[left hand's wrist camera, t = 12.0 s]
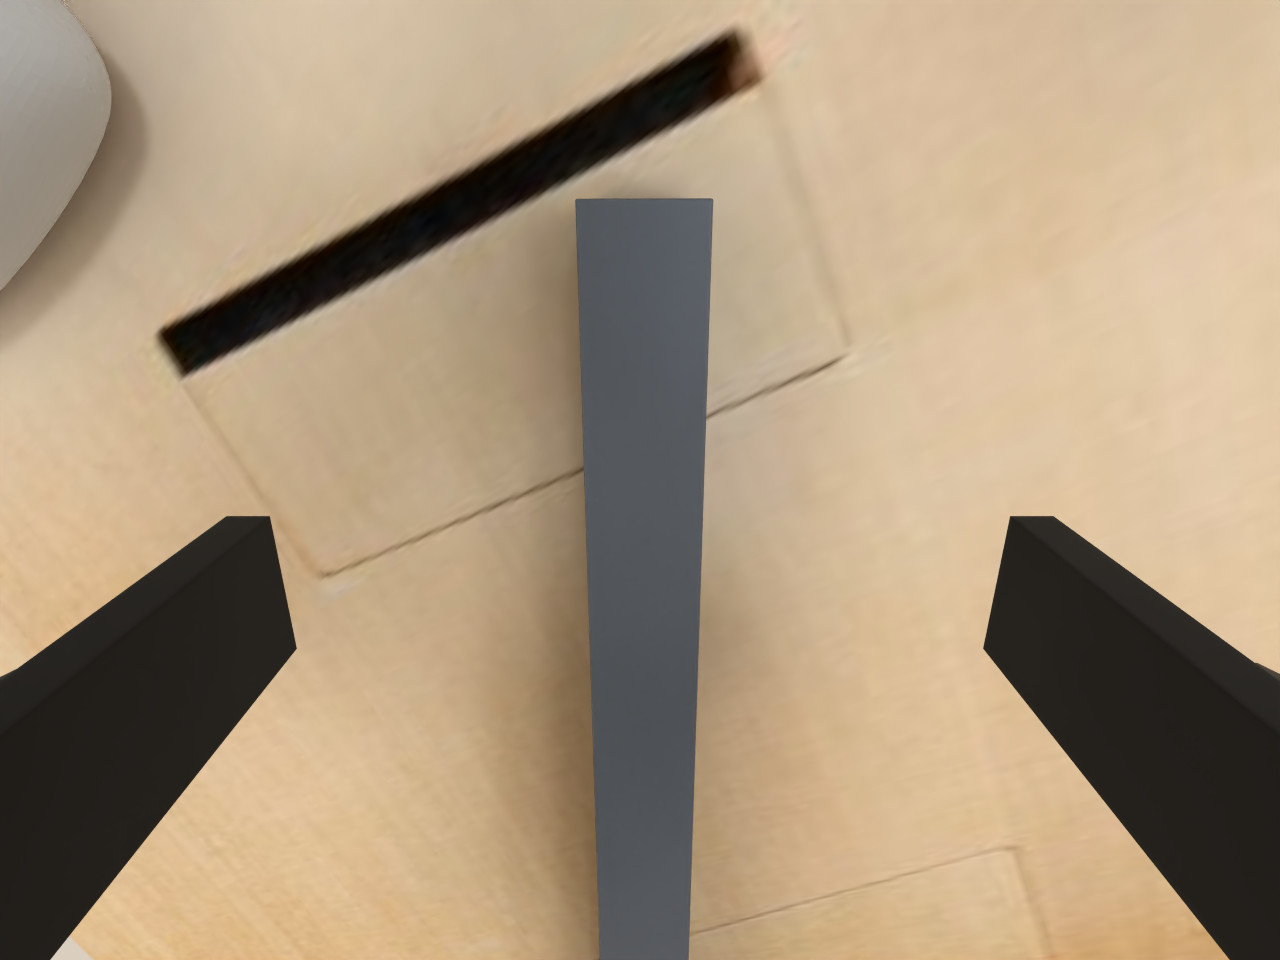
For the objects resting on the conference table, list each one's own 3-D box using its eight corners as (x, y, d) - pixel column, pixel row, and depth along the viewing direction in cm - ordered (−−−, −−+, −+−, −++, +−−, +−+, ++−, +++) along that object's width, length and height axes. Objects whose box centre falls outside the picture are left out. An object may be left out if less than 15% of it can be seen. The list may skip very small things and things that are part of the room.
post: (590, 202, 33) (575, 198, 25) (695, 202, 33) (713, 198, 25) (612, 1078, 57) (608, 1217, 49) (674, 1078, 57) (680, 1217, 49)
